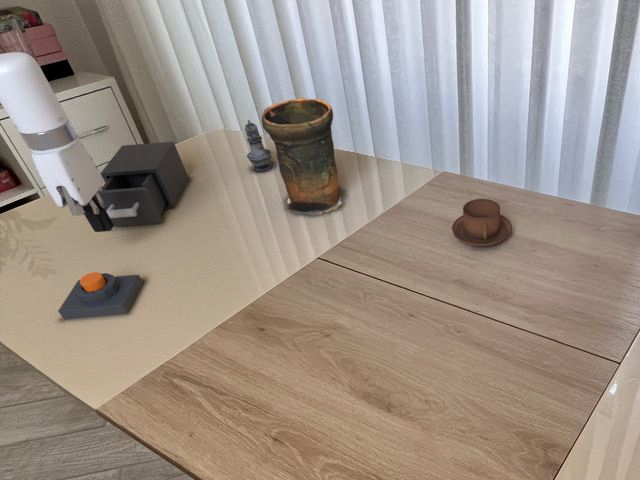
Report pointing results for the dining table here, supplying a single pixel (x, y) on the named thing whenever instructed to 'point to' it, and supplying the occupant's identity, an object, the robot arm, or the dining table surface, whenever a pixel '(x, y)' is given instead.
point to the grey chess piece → (257, 150)
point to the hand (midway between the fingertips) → (104, 229)
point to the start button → (92, 281)
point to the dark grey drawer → (133, 199)
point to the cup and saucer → (481, 224)
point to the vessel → (305, 153)
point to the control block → (102, 298)
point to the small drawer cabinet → (152, 167)
